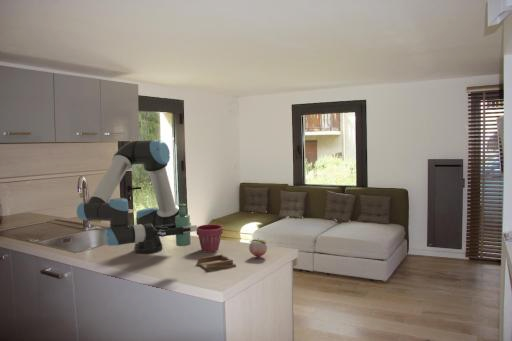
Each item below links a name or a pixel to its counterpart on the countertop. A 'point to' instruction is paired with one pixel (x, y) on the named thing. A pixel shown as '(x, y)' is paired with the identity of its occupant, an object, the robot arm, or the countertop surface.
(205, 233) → the plant pot
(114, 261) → the countertop surface
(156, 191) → the robot arm
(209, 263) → the u rest
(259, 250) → the decorative fruit
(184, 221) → the green bottle
